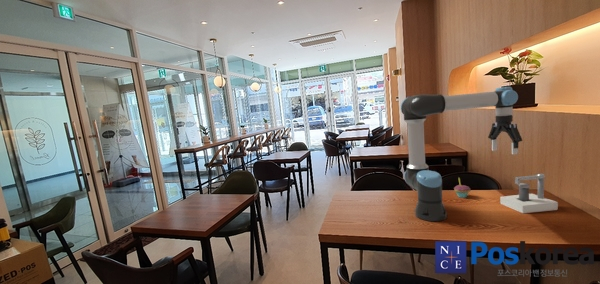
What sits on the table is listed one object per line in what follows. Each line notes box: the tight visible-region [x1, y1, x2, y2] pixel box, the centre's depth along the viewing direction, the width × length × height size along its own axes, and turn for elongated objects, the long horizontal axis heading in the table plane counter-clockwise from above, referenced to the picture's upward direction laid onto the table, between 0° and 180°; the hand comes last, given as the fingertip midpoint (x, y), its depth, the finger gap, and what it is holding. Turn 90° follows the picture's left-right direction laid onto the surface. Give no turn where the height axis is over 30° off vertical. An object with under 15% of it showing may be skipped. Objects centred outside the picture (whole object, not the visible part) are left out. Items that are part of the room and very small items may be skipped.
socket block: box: [499, 179, 559, 214], centre depth 135 cm, size 18×14×15 cm
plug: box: [518, 182, 530, 202], centre depth 135 cm, size 4×4×12 cm
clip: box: [514, 173, 546, 185], centre depth 134 cm, size 15×3×4 cm, turn 91°
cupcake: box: [453, 177, 471, 199], centre depth 158 cm, size 9×8×12 cm
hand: (504, 152), depth 145 cm, fingers open, 13 cm apart
